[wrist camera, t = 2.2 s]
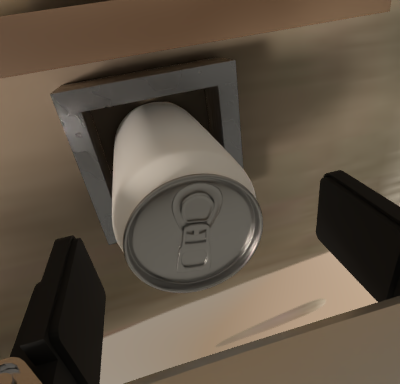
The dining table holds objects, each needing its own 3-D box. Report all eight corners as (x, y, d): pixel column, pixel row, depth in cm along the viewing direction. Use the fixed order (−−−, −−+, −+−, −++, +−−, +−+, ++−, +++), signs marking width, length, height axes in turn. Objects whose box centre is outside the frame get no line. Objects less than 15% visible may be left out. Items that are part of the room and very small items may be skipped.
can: (203, 100, 21) (287, 159, 10) (198, 181, 24) (259, 289, 13) (110, 98, 19) (101, 166, 9) (117, 185, 22) (117, 311, 12)
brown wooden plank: (307, 19, 20) (389, 11, 14) (-69, 83, 16) (-177, 108, 10) (309, -15, 19) (397, -41, 13) (-92, 45, 15) (-225, 48, 9)
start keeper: (230, 187, 25) (246, 208, 22) (110, 218, 23) (108, 245, 20) (217, 57, 20) (235, 60, 17) (61, 85, 18) (50, 94, 15)
